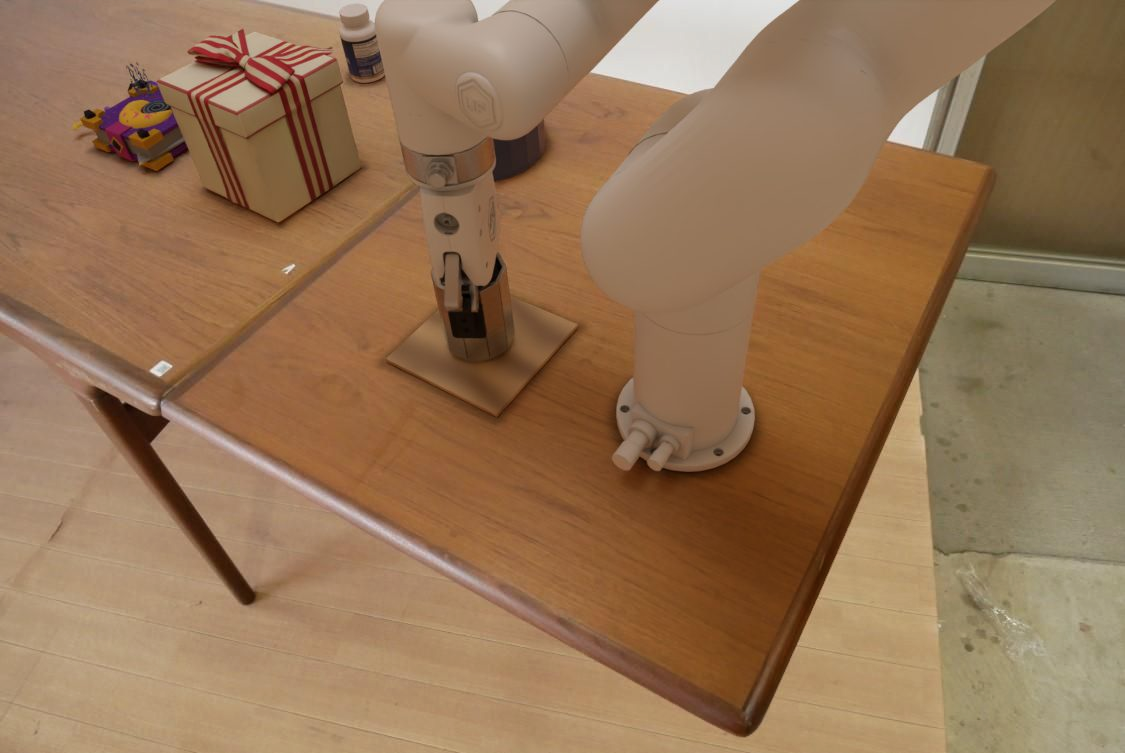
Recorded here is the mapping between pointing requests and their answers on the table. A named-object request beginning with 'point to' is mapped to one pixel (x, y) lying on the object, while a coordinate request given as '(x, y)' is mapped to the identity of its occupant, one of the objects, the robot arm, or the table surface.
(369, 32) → the pill bottle
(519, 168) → the dark blue round tub
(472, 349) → the small pot
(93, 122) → the lego model
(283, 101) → the gift box
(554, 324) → the plate
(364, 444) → the table surface
